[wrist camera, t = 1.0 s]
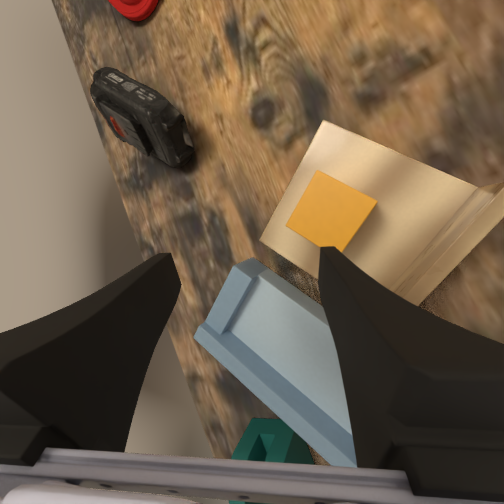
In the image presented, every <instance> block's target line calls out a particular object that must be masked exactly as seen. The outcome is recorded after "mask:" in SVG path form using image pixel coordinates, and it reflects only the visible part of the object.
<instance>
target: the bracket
mask: <svg viewBox="0 0 504 504" xmlns="http://www.w3.org/2000/svg"><path fill="white" fill-rule="evenodd" d="M231 459H232V460H247V461H262V462H278V463H293V464H309V465H315V464H314V461H313V459H312V456H311V453H310V451H309V448H308V445H307V443H306V441H304V440H303V439H302V438H301V437H300V436H299V435H298V434H297V433H296V432H295V431H294V430H293V429H292V428H290V427H289V426H288V425H287V424H286V423H285V422H284V421H283V420H282V419H261V418H252V420H251V422H250V423H249V425H248V427H247V429H246V431H245V432H244V434H243V436H242V438H241V440H240V441H239V443H238V445H237V447H236V449H235V451H234V453H233V455H232V458H231ZM229 504H269V503H257V502H245V501H234V500H229Z"/></svg>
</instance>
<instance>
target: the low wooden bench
mask: <svg viewBox="0 0 504 504" xmlns="http://www.w3.org/2000/svg"><path fill="white" fill-rule="evenodd" d="M317 170H319V171H321V172H323V173H325V174H327V175H329V176H331V177H333V178H335V179H337V180H339V181H340V182H342V183H344V184H346V185H348V186H350V187H352V188H354V189H356V190H358V191H360V192H362V193H364V194H366V195H368V196H370V197H372V198H373V199H375V200H377V201H378V203H377V204H376V206H375V207H374V208H373V210H372V211H371V213H370V214H369V215H368V217H367V218H366V220H365V221H364V222H363V224H362V225H361V227H360V228H359V230H358V231H357V232H356V234H355V235H354V237H353V238H352V239H351V241H350V242H349V244H348V245H347V246H346V248H345V249H344V251H343V252H342V253H343V254H344V255H345V256H346V257H347V258H348V259H349V260H351V261H352V262H353V263H354V264H355V265H356V266H358V267H359V268H360V269H361V270H363V271H364V272H365V273H366V274H368V275H369V276H370V277H372V278H373V279H374V280H376V281H377V282H379V283H380V284H381V285H383V286H384V287H386V288H387V289H389V290H390V291H392V292H394V293H395V294H397V295H399V296H400V297H402V298H404V299H405V300H407V301H409V302H411V303H412V304H414V305H416V306H418V305H419V304H420V303H421V302H422V301H423V300H424V299H425V298H426V297H427V296H428V295H429V294H430V293H431V292H432V291H433V290H434V289H435V288H436V287H437V286H438V285H439V284H440V283H441V282H442V281H443V279H444V278H445V277H446V276H447V275H448V274H449V273H450V272H451V271H452V270H453V269H454V268H455V267H456V266H457V265H458V264H459V263H460V262H461V261H462V260H463V259H464V258H465V257H466V256H467V255H468V254H469V253H470V252H471V250H472V249H473V248H474V247H475V246H476V245H477V244H478V243H479V242H480V241H481V240H482V239H483V238H484V237H485V236H486V235H487V234H488V233H489V232H490V231H491V230H492V229H493V228H494V227H495V226H496V225H497V224H498V222H499V221H500V220H501V219H502V218H503V217H504V182H503V183H498V184H493V185H487V186H482V187H476V186H474V185H472V184H469V183H467V182H465V181H462V180H460V179H458V178H456V177H453V176H451V175H449V174H446V173H444V172H442V171H440V170H437V169H435V168H433V167H430V166H428V165H426V164H424V163H421V162H419V161H417V160H415V159H412V158H410V157H408V156H405V155H403V154H401V153H399V152H396V151H394V150H392V149H389V148H387V147H385V146H383V145H380V144H378V143H376V142H373V141H371V140H369V139H367V138H364V137H362V136H360V135H357V134H355V133H353V132H351V131H348V130H346V129H344V128H341V127H339V126H337V125H335V124H332V123H330V122H328V121H326V120H323V121H322V123H321V125H320V127H319V129H318V131H317V133H316V134H315V136H314V138H313V140H312V142H311V144H310V146H309V148H308V149H307V151H306V153H305V155H304V157H303V159H302V161H301V163H300V164H299V166H298V168H297V170H296V172H295V174H294V176H293V178H292V180H291V181H290V183H289V185H288V187H287V189H286V191H285V193H284V195H283V196H282V198H281V200H280V202H279V204H278V206H277V208H276V210H275V212H274V213H273V215H272V217H271V219H270V221H269V223H268V225H267V227H266V228H265V230H264V232H263V234H262V236H261V238H260V241H261V242H262V243H264V244H265V245H267V246H268V247H270V248H271V249H273V250H274V251H276V252H277V253H279V254H280V255H282V256H283V257H285V258H286V259H288V260H289V261H291V262H292V263H294V264H295V265H297V266H298V267H300V268H301V269H303V270H304V271H305V272H307V273H308V274H310V275H311V276H313V277H314V278H316V279H317V280H318V272H319V259H320V247H318V246H317V245H315V244H314V243H312V242H310V241H309V240H307V239H306V238H304V237H302V236H301V235H299V234H298V233H296V232H294V231H293V230H291V229H290V228H288V227H286V223H287V221H288V220H289V218H290V216H291V214H292V213H293V211H294V209H295V207H296V206H297V204H298V202H299V200H300V199H301V197H302V195H303V193H304V191H305V190H306V188H307V186H308V184H309V183H310V181H311V179H312V177H313V176H314V174H315V172H316V171H317Z"/></svg>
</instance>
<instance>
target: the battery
mask: <svg viewBox="0 0 504 504" xmlns="http://www.w3.org/2000/svg"><path fill="white" fill-rule="evenodd" d="M93 79H94V81H93V83H92V85H91V89H90V93H91V96H92V99H93V101H94V103H95V105H96V107H97V108H98V109H99V111H100V113H101V114H102V116H103V117H104V119H105V120H106V123H107V124H108V126H109V127H110V129H111V130H112V131H113V133H114V134H115V136H116V137H117V138H119V139H120V140H122V141H123V142H127V143H128V144H130V145H133V146H134V147H135V148H137V149H138V150H139V151H140V152H142V153H143V154H145V155H147V156H149V155H150V153H151V154H152V155H154V156H155V157H157V158H159V159H160V160H162V161H164V162H165V163H167V164H168V165H169V166H171V167H175V168H180V167H182V166H184V165H185V164H186V163H188V162H189V160H190V157H191V156H192V154H193V153H194V152H195V151H194V147H193V144H192V141H191V138H190V135H189V132H188V129H187V126H186V122H185V119H184V116H183V115H181V114H180V113H179V112H178V111H177V110H176V109H175V108H174V107H173V106H172V105H171V103H170V102H169V101H168V100H167V99H166V98H165V97H163V96H162V95H161V94H160V93H158V92H157V91H156V90H154V89H152V88H150V87H148V86H146V85H144V84H142V83H139V82H137V81H136V80H134V79H132V78H129V77H128V76H127V75H125V74H123V73H121V72H120V71H119V70H117V69H114V68H110V67H104V68H101V69H99V70H97V71H96V72H95V73H94V75H93Z"/></svg>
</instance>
